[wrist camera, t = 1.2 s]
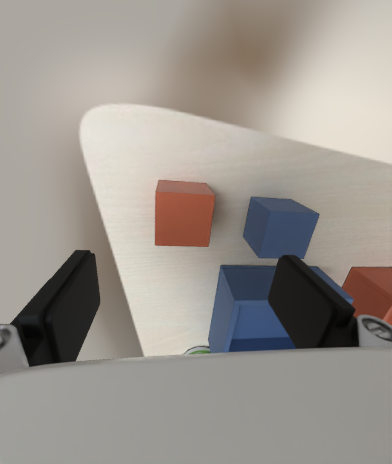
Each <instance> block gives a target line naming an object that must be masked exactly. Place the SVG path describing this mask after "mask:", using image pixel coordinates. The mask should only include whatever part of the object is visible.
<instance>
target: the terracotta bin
mask: <svg viewBox="0 0 392 464" xmlns="http://www.w3.org/2000/svg"><path fill="white" fill-rule="evenodd" d="M342 289H343V290H344V291H345V292H347V293H348V294H349V295H350V296H351V297H352V298H353V299H354V300H353V302H352V304H351V305H352V306H353V307H354V308H355V309H356V310H355V312H354V314H353V316H354V317H355V318H357V317H358V316H360V315H371V316H374V317H377V318H379V319H381V320H384V321H385V322H387V323H389V324H390V325H392V268H381V267H352V268H351V270H350V273H349V275H348V277H347V279H346V281H345V283H344V285H343V287H342Z"/></svg>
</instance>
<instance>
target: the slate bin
mask: <svg viewBox="0 0 392 464" xmlns="http://www.w3.org/2000/svg"><path fill="white" fill-rule="evenodd" d="M276 267H277V266H223V265H221V267H220V272H219V278H218V284H217V290H216V296H215V302H214V308H213V314H212V320H211V326H210V332H209V338H208V341H209V346H210V352H211V353H225V352H245V351H266V350H288V349H296V347H295V345H294V344H293V342H292V340H291V339H290V337H289V336H288V334H287V332H286V331H285V329H284V327H283V326H282V324H281V323H280V321H279V319H278V318H277V316H276V314H275V313H274V311H273V310H272V308H271V306H270V305H269V303H268V295H269V291H270V288H271V284H272V281H273V277H274V274H275V270H276ZM309 268H311V269H312V270H313V271H314V272H315V273H316V274H317V275H318V276H320V277H321V278H322V279H323V280H324V281H325V282H326V283H327V284H329V285H330V286H331V287H332V288H333V289H334V290H335V291H336V292H337V293H339V294H340V295H341V296H342V297H343V298H344V299H345V300H346V301H348V302H349V303H350V304H352V302H353V300H354V299H353V298H352V297H351V296H350V295H349V294H348V293H347V292H345V291H344V290H343V289H342V288H341V287H340V286H339V285H337V284H336V283H335V282H334V281H333V280H332V279H331V278H330V277H328V276H327V275H326V274H325V273H324V272H323V271H322V270H320V269H319V268H318V267H309Z"/></svg>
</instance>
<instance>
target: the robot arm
mask: <svg viewBox="0 0 392 464" xmlns="http://www.w3.org/2000/svg"><path fill="white" fill-rule="evenodd" d="M268 303H269V305H270V306H271V308H272V310H273V311H274V313H275V314H276V316H277V318H278V319H279V321H280V323H281V324H282V326H283V327H284V329H285V331H286V332H287V334H288V336H289V337H290V339H291V340H292V342H293V344H294V345H295V347H296V349H288V350H266V351H245V352H225V353H206V354H187V355H169V356H151V357H135V358H118V359H103V360H89V361H76V359H77V356H78V354H79V352H80V350H81V347H82V345H83V343H84V340H85V338H86V336H87V333H88V331H89V329H90V326H91V324H92V322H93V319H94V317H95V315H96V312H97V310H98V307H99V305H100V293H99V284H98V276H97V267H96V259H95V254H94V253H93V254H92V253H91V252H90V250H76V251H74V253H73V254H72V255H71V256H70V257H69V258H68V260H67V261H66V262H65V263H64V264H63V265H62V266H61V268H60V269H59V270H58V271H57V272H56V273H55V274H54V276H53V277H52V278H51V279H49V280H48V281H47V282H46V284H45V285H44V286H43V287H42V288H41V289H40V290H39V292H38V293H37V294H36V295H35V296H34V297H33V298H32V299H31V301H30V302H29V303H28V304H27V305H26V306H25V308H24V309H23V310H22V311H21V312H20V313H19V314H18V315H17V317H16V318H15V319H14V320H13V321H12V322H11V323H10V324H0V464H392V325H390V324H389V323H387V322H385V321H384V320H381V319H379V318H377V317H374V316H371V315H360V316H358V317H357V318H355V317H354V316H353V314H354V312H355V310H356V309H355V308H354V307H353V306H352V305H351V304H350V303H349V302H348V301H346V300H345V299H344V298H343V297H342V296H341V295H340V294H339V293H337V292H336V291H335V290H334V289H333V288H332V287H331V286H330V285H329V284H327V283H326V282H325V281H324V280H323V279H322V278H321V277H320V276H318V275H317V274H316V273H315V272H314V271H313V270H312V269H311V268H309V267H308V266H307V265H306V264H305V263H304V262H303V261H302V260H301V259H299V258H298V257H297V256H296V255H283V256H282V257H280V258H279V260H278V263H277V267H276V270H275V274H274V277H273V281H272V284H271V288H270V291H269V295H268Z"/></svg>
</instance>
